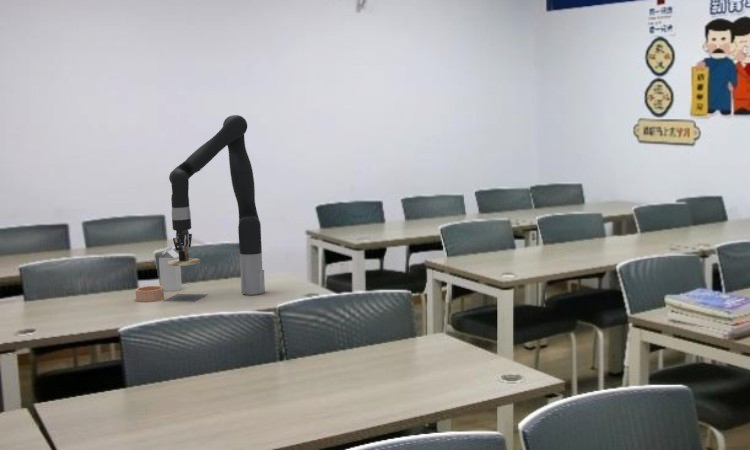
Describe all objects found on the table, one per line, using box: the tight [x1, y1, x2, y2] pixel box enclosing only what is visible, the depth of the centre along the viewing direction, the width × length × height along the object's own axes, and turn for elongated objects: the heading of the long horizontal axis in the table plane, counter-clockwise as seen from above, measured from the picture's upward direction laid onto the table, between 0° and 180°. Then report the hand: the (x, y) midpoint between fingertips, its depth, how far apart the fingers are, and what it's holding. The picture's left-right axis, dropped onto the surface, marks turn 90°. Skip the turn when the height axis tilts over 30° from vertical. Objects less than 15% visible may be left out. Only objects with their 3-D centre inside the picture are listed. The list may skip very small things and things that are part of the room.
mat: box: [163, 293, 209, 303], centre depth 342 cm, size 14×14×1 cm
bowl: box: [135, 285, 165, 303], centre depth 340 cm, size 11×11×5 cm
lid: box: [168, 246, 201, 267], centre depth 339 cm, size 13×13×7 cm
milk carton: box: [158, 246, 183, 292], centre depth 359 cm, size 7×7×19 cm
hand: (184, 259), depth 340 cm, fingers closed on lid, 3 cm apart
